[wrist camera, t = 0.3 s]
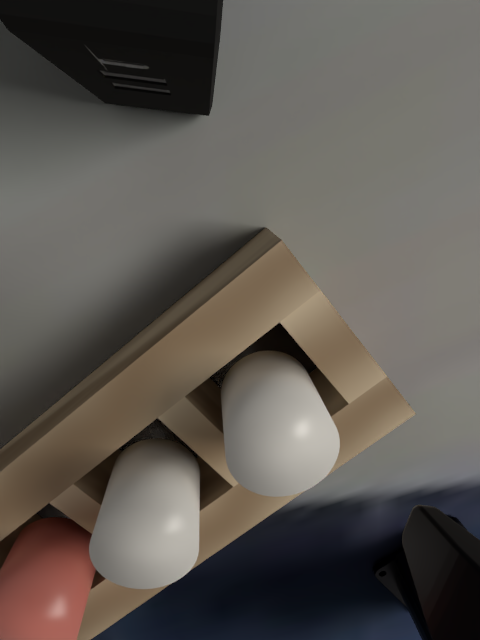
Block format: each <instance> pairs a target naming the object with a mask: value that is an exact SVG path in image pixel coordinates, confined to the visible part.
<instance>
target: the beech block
mask: <svg viewBox="0 0 480 640" xmlns="http://www.w3.org/2000/svg"><path fill="white" fill-rule="evenodd" d="M279 322H280V323H281V324H282V325H283V327H284V328H285V329H286V330H287V331H288V333H289V334H290V335H291V336H292V337H293V338H294V340H295V341H296V342H297V343H298V344H299V346H300V347H301V348H302V349H303V350H304V352H305V353H306V354H307V355H308V356H309V357H310V359H311V360H312V361H313V362H314V363H315V365H316V366H317V367H318V368H316V369H315V370H314V371H312V372H311V373H310V374H308V375H309V377H310V378H311V380H312V382H313V384H314V386H315V388H316V390H317V392H318V394H319V395H320V397H321V399H322V401H323V403H324V405H325V407H326V409H327V411H328V412H329V414H330V416H331V418H332V420H333V422H334V424H335V426H336V428H337V430H338V433H339V438H340V449H339V454H338V457H337V460H336V462H335V464H334V466H333V468H332V469H331V471H330V472H329V473H328V474H327V475H329V474H330V473H331V472H333V471H334V470H336V469H337V468H339V467H340V466H342V465H343V464H344V463H346V462H347V461H349V460H350V459H352V458H353V457H355V456H356V455H357V454H359V453H360V452H362V451H363V450H365V449H366V448H368V447H369V446H370V445H372V444H373V443H375V442H376V441H378V440H379V439H381V438H382V437H383V436H385V435H386V434H388V433H389V432H391V431H392V430H393V429H395V428H396V427H398V426H399V425H401V424H402V423H404V422H405V421H406V420H408V419H409V418H411V417H412V416H414V415H415V414H416V413H415V412H414V411H413V409H412V408H411V407H410V405H409V404H408V403H407V402H406V400H405V399H404V398H403V396H402V395H401V394H400V393H399V391H398V390H397V389H396V387H395V386H394V385H393V383H392V382H391V381H390V380H389V378H388V377H387V376H386V374H385V373H384V372H383V371H382V369H381V368H380V367H379V365H378V364H377V363H376V361H375V360H374V359H373V358H372V356H371V355H370V354H369V352H368V351H367V350H366V349H365V347H364V346H363V345H362V343H361V342H360V341H359V339H358V338H357V337H356V336H355V334H354V333H353V332H352V330H351V329H350V328H349V327H348V325H347V324H346V323H345V321H344V320H343V319H342V317H341V316H340V315H339V314H338V312H337V311H336V310H335V308H334V307H333V306H332V305H331V303H330V302H329V301H328V299H327V298H326V297H325V296H324V294H323V293H322V292H321V290H320V289H319V288H318V286H317V285H316V284H315V283H314V281H313V280H312V279H311V277H310V276H309V275H308V274H307V272H306V271H305V270H304V268H303V267H302V266H301V264H300V263H299V262H298V261H297V259H296V258H295V257H294V255H293V254H292V253H291V252H290V250H289V249H288V248H287V246H286V245H285V244H284V242H283V241H282V240H281V239H280V238H278V237H277V236H276V235H275V234H274V233H272V232H271V231H270V230H269V229H267V228H264V229H263V230H262V231H261V232H260V233H258V234H257V235H256V236H255V237H254V238H252V239H251V240H250V241H249V242H248V243H246V244H245V245H244V246H243V247H242V248H240V249H239V250H238V251H237V252H236V253H234V254H233V255H232V256H231V257H230V258H229V259H227V260H226V261H225V262H224V263H223V264H221V265H220V266H219V267H218V268H217V269H215V270H214V271H213V272H212V273H211V274H209V275H208V276H207V277H206V278H205V279H203V280H202V281H201V282H200V283H199V284H197V285H196V286H195V287H194V288H193V289H191V290H190V291H189V292H188V293H187V294H185V295H184V296H183V297H182V298H181V299H179V300H178V301H177V302H176V303H175V304H173V305H172V306H171V307H170V308H169V309H167V310H166V311H165V312H164V313H163V314H162V315H160V316H159V317H158V318H157V319H156V320H154V321H153V322H152V323H151V324H150V325H148V326H147V327H146V328H145V329H144V330H142V331H141V332H140V333H139V334H138V335H136V336H135V337H134V338H133V339H132V340H130V341H129V342H128V343H127V344H126V345H124V346H123V347H122V348H121V349H120V350H118V351H117V352H116V353H115V354H114V355H112V356H111V357H110V358H109V359H108V360H106V361H105V362H104V363H103V364H102V365H100V366H99V367H98V368H97V369H96V370H95V371H93V372H92V373H91V374H90V375H89V376H87V377H86V378H85V379H84V380H83V381H81V382H80V383H79V384H78V385H77V386H75V387H74V388H73V389H72V390H71V391H69V392H68V393H67V394H66V395H65V396H63V397H62V398H61V399H60V400H59V401H57V402H56V403H55V404H54V405H53V406H51V407H50V408H49V409H48V410H47V411H45V412H44V413H43V414H42V415H41V416H39V417H38V418H37V419H36V420H35V421H33V422H32V423H31V424H30V425H29V426H28V427H26V428H25V429H24V430H23V431H22V432H20V433H19V434H18V435H17V436H16V437H14V438H13V439H12V440H11V441H10V442H8V443H7V444H6V445H5V446H4V447H2V448H1V449H0V570H1V568H2V566H3V564H4V562H5V560H6V558H7V556H8V554H9V552H10V550H11V548H12V546H13V544H14V543H15V541H16V539H17V537H18V535H19V533H20V532H21V531H22V530H23V529H24V528H25V527H26V526H27V525H29V524H30V523H32V522H34V521H37V520H40V519H43V518H42V517H40V516H39V515H38V514H36V513H37V512H38V511H40V510H41V509H42V508H43V507H45V506H46V505H47V504H48V503H50V504H51V505H53V506H54V507H56V508H57V509H58V510H60V511H61V512H62V513H64V514H65V515H67V516H68V517H69V518H71V519H72V520H73V521H75V522H76V523H78V524H79V525H80V526H82V527H83V528H84V529H86V530H87V531H89V532H90V533H91V534H92V533H93V530H94V527H95V524H96V521H97V517H98V514H99V511H100V508H101V505H102V501H103V498H104V495H105V492H106V489H107V486H108V482H109V479H110V476H111V473H112V470H113V466H114V464H115V461H116V459H117V458H118V456H119V455H120V454H121V452H122V451H121V450H120V449H119V448H120V447H121V446H122V445H124V444H125V443H126V442H128V441H129V440H130V439H131V438H133V437H134V436H135V435H136V434H138V433H139V432H140V431H142V430H143V429H144V428H145V427H147V426H148V425H149V424H150V423H152V422H153V421H154V420H156V419H157V418H158V419H159V420H160V421H162V422H163V423H164V424H165V425H166V426H167V427H168V428H169V429H170V430H171V431H173V432H174V433H175V434H176V435H177V436H178V437H179V438H180V439H181V440H182V441H183V442H185V443H186V444H187V445H188V446H189V447H190V448H191V449H192V450H193V451H194V452H196V453H197V454H198V455H199V457H197V458H196V460H197V462H198V464H199V468H200V513H199V553H198V557H197V560H196V562H195V564H194V566H193V567H192V568H191V570H192V569H193V568H194V567H196V566H197V565H199V564H200V563H202V562H203V561H205V560H206V559H207V558H209V557H210V556H212V555H213V554H215V553H216V552H218V551H219V550H220V549H222V548H223V547H225V546H226V545H228V544H229V543H231V542H232V541H233V540H235V539H236V538H238V537H239V536H241V535H242V534H244V533H245V532H246V531H248V530H249V529H251V528H252V527H254V526H255V525H256V524H258V523H259V522H261V521H262V520H264V519H265V518H267V517H268V516H269V515H271V514H272V513H274V512H275V511H277V510H278V509H280V508H281V507H282V506H284V505H285V504H287V503H288V502H290V501H291V500H293V499H294V498H295V497H297V496H298V495H300V494H301V493H303V492H304V491H303V492H300V493H298V494H294V495H290V496H283V497H272V496H264V495H260V494H257V493H254V492H252V491H249V490H248V489H246V488H244V487H243V486H242V485H240V484H239V483H238V482H237V481H236V480H235V479H234V477H233V476H232V474H231V473H230V471H229V469H228V466H227V463H226V457H225V444H224V431H223V418H222V405H221V389H220V388H219V387H218V386H217V385H216V384H215V383H214V382H213V381H212V380H211V379H210V378H209V377H210V376H212V375H213V374H214V373H216V372H217V371H218V370H219V369H221V368H222V367H223V366H224V365H226V364H227V363H228V362H230V361H231V360H232V359H233V358H235V357H236V356H237V355H238V354H240V353H241V352H242V351H244V350H245V349H246V348H247V347H249V346H250V345H251V344H252V343H254V342H255V341H256V340H258V339H259V338H260V337H261V336H263V335H264V334H265V333H267V332H268V331H269V330H270V329H272V328H273V327H274V326H275V325H277V324H278V323H279ZM305 491H306V490H305ZM169 585H170V584H169ZM169 585H166V586H163V587H159V588H153V589H133V588H127V587H123V586H120V585H117V584H115V583H113V582H111V581H109V580H108V579H106V578H105V577H103V576H102V575H101V574H100V573H99V572H98V571H97V570H96V571H95V575H94V578H93V582H92V586H91V589H90V593H89V596H88V600H87V604H86V607H85V611H84V615H83V618H82V622H81V626H80V629H79V633H78V636H77V640H91V639H92V638H94V637H95V636H96V635H98V634H99V633H101V632H102V631H104V630H105V629H107V628H108V627H109V626H111V625H112V624H114V623H115V622H117V621H118V620H120V619H121V618H122V617H124V616H125V615H127V614H128V613H130V612H131V611H132V610H134V609H135V608H137V607H138V606H140V605H141V604H143V603H144V602H145V601H147V600H148V599H150V598H151V597H153V596H154V595H156V594H157V593H158V592H160V591H161V590H163V589H164V588H166V587H167V586H169Z"/></svg>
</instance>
